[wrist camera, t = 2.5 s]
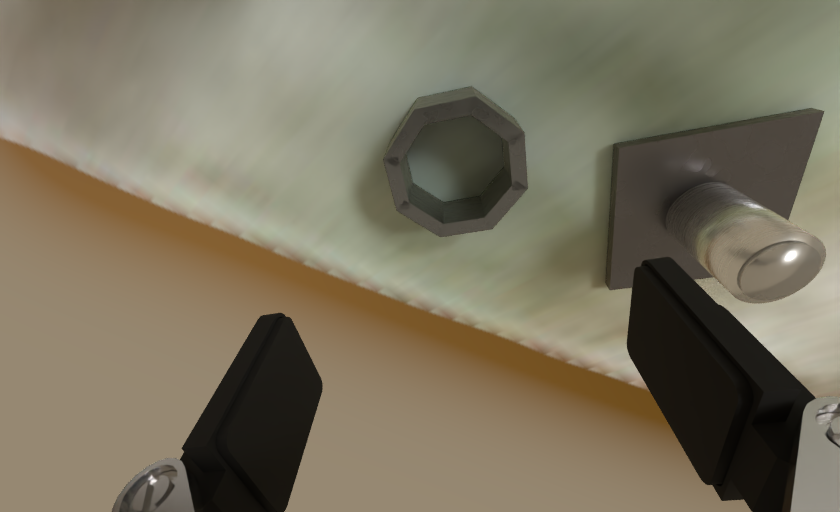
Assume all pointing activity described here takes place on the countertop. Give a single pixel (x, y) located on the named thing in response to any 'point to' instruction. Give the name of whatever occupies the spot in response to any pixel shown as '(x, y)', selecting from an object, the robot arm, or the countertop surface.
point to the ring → (464, 211)
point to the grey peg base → (717, 205)
